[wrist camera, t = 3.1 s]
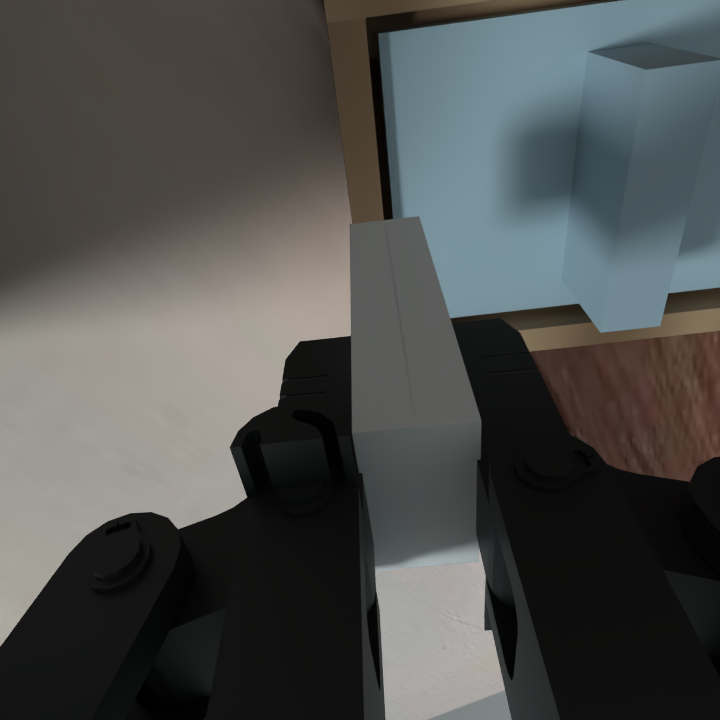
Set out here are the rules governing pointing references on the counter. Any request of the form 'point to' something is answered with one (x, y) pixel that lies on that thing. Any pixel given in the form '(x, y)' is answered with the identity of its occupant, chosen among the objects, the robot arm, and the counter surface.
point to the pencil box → (370, 170)
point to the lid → (561, 155)
